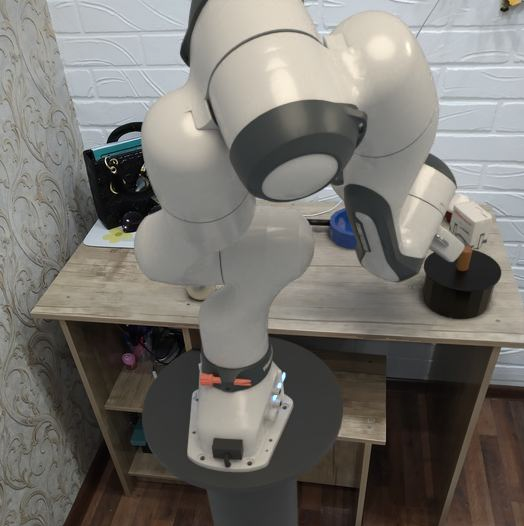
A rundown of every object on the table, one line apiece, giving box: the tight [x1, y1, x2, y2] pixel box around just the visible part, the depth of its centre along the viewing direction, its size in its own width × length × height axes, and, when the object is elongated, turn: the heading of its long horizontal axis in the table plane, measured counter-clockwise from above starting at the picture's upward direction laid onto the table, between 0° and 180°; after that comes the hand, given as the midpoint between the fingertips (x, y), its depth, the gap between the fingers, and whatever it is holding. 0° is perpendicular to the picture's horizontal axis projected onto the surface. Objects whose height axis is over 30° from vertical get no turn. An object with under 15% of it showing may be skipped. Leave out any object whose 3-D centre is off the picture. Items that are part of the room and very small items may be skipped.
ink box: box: [448, 200, 494, 254], centre depth 130 cm, size 9×5×12 cm, turn 18°
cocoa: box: [444, 192, 471, 223], centre depth 141 cm, size 10×6×12 cm, turn 32°
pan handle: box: [306, 218, 330, 227], centre depth 143 cm, size 2×11×2 cm, turn 81°
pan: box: [328, 207, 357, 250], centre depth 141 cm, size 14×14×4 cm
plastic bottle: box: [185, 285, 217, 301], centre depth 121 cm, size 6×7×20 cm
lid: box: [423, 246, 502, 292], centre depth 116 cm, size 15×15×6 cm
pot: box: [422, 274, 496, 320], centre depth 120 cm, size 14×14×8 cm
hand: (432, 240), depth 105 cm, fingers open, 8 cm apart
